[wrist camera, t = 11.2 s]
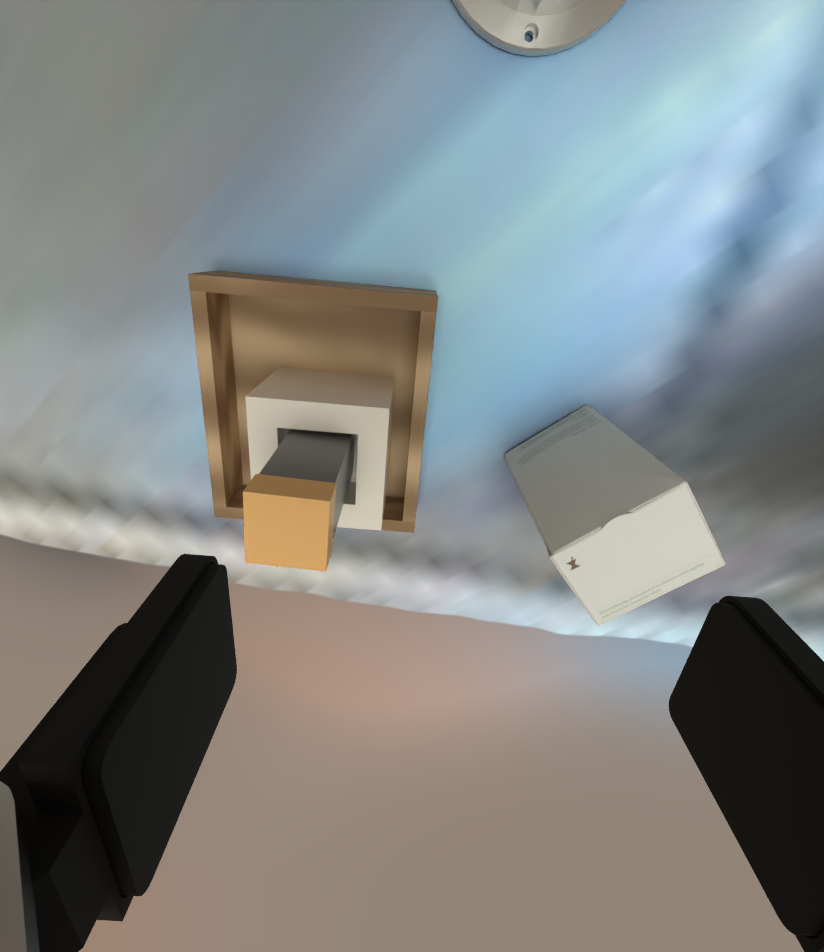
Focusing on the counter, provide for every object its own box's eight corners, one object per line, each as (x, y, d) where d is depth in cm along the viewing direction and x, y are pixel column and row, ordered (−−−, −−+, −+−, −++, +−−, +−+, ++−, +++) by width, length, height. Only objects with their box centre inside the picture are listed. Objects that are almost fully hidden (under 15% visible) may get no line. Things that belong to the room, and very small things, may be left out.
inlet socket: (279, 367, 37) (245, 396, 30) (395, 377, 37) (389, 408, 30) (283, 472, 41) (253, 520, 34) (387, 480, 41) (381, 530, 34)
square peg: (299, 413, 34) (242, 491, 23) (358, 420, 34) (330, 501, 23) (298, 466, 36) (245, 562, 25) (354, 473, 36) (326, 571, 25)
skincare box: (535, 506, 43) (592, 633, 29) (498, 449, 40) (541, 557, 26) (623, 459, 41) (732, 570, 26) (590, 396, 38) (690, 482, 24)
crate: (215, 270, 35) (188, 273, 30) (435, 290, 35) (437, 296, 31) (234, 490, 42) (214, 516, 38) (414, 505, 43) (413, 532, 39)
